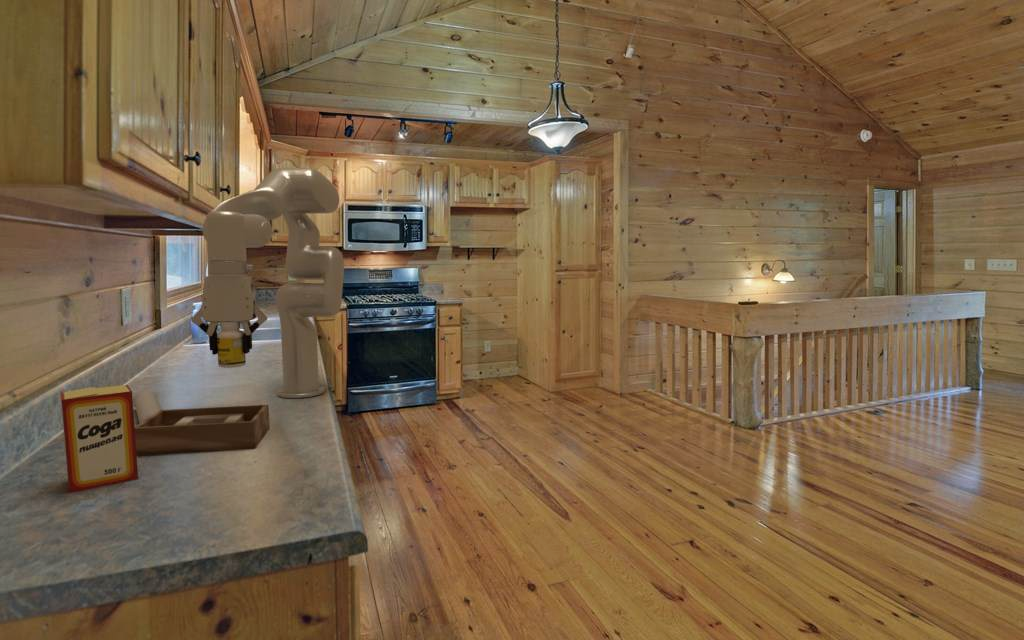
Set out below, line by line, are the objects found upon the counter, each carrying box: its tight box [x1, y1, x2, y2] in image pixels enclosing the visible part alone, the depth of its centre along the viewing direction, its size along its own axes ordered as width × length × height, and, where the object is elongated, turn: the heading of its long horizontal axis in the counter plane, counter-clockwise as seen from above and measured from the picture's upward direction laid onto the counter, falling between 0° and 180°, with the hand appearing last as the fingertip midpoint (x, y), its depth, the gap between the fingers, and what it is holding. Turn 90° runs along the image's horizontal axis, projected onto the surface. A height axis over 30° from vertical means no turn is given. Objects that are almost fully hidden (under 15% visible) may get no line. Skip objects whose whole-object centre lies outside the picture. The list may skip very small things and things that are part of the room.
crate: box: [134, 404, 270, 457], centre depth 118 cm, size 14×22×6 cm, turn 102°
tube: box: [132, 389, 163, 424], centre depth 135 cm, size 5×5×25 cm
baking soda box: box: [60, 384, 139, 494], centre depth 97 cm, size 10×6×16 cm
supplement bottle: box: [217, 322, 247, 369], centre depth 122 cm, size 5×5×10 cm
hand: (231, 352), depth 123 cm, fingers closed on supplement bottle, 5 cm apart
